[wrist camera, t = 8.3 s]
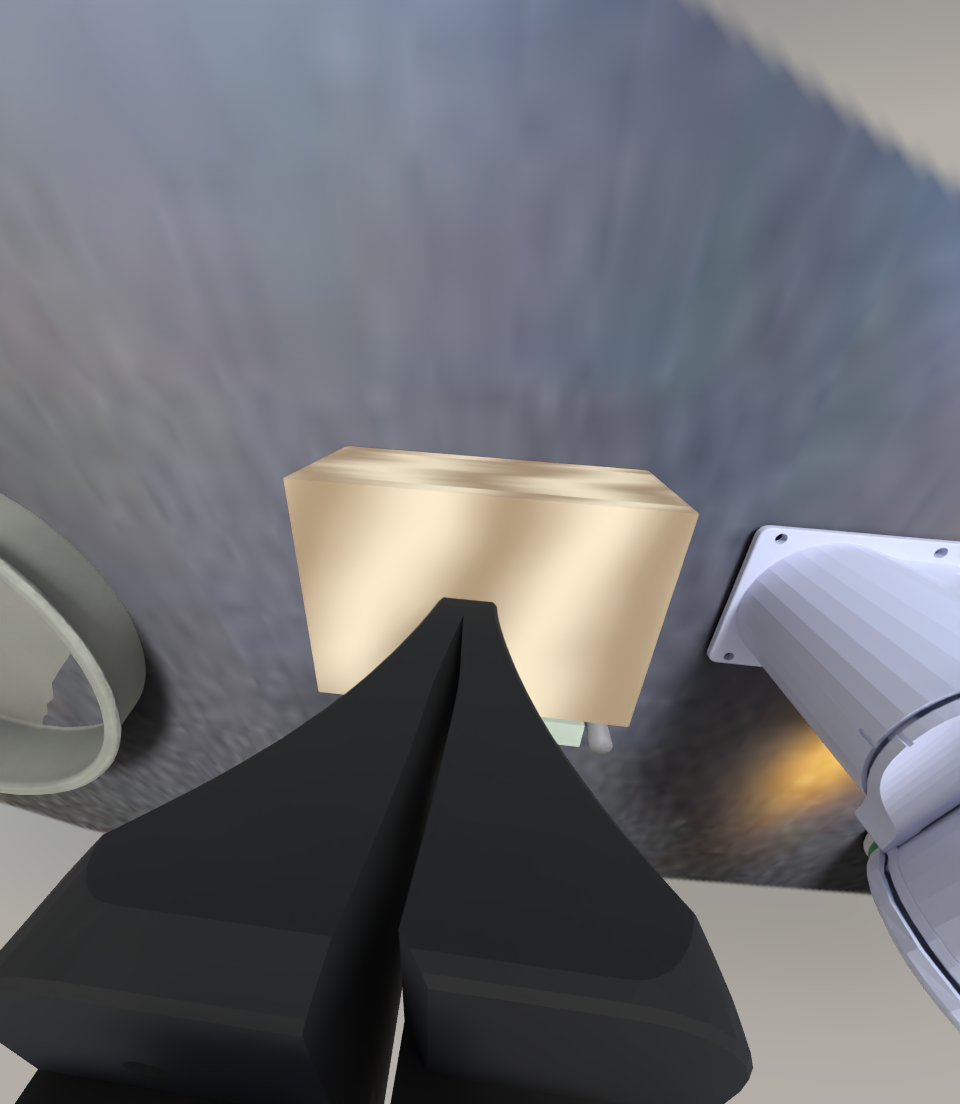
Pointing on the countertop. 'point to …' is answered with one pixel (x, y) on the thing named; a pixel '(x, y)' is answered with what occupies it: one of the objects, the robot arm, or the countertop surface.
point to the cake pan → (58, 657)
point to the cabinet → (491, 566)
